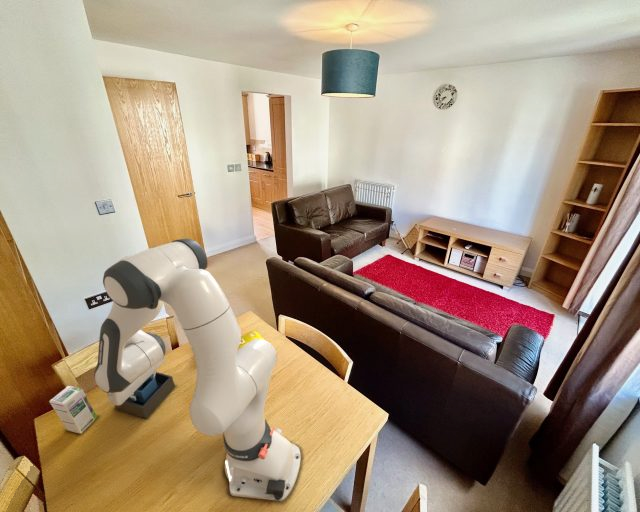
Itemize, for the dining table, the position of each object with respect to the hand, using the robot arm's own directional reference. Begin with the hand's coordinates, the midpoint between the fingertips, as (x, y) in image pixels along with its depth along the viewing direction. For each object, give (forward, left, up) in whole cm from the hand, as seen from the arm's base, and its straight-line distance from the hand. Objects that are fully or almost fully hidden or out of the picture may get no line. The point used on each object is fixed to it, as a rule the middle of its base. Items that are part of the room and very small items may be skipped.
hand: (144, 390), depth 98 cm
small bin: (0, 0, -2) cm, 2 cm away
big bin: (0, 0, -4) cm, 4 cm away
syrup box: (+12, +14, -4) cm, 19 cm away
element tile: (-25, -30, -4) cm, 39 cm away
